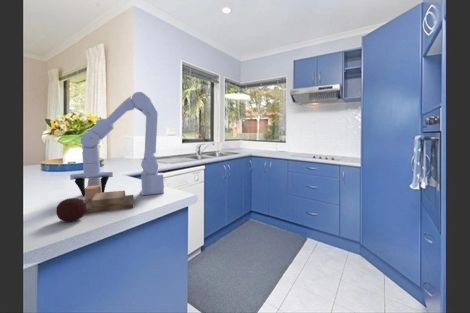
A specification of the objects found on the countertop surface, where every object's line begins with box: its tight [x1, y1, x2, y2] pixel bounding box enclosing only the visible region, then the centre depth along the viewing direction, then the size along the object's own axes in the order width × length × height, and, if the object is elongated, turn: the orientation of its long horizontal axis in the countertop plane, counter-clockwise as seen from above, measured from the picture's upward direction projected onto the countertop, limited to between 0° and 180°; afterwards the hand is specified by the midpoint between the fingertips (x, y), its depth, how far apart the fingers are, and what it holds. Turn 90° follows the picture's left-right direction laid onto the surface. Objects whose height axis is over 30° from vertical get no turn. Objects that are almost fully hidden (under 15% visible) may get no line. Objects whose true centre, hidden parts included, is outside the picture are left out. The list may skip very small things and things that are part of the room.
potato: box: [55, 197, 86, 222], centre depth 69 cm, size 7×8×7 cm
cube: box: [84, 185, 102, 202], centre depth 92 cm, size 5×5×5 cm
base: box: [84, 190, 135, 215], centre depth 84 cm, size 16×13×4 cm
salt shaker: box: [86, 176, 102, 191], centre depth 100 cm, size 6×6×13 cm
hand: (93, 195), depth 92 cm, fingers open, 6 cm apart
